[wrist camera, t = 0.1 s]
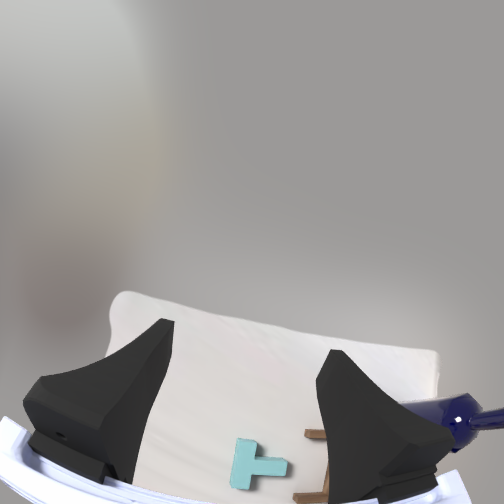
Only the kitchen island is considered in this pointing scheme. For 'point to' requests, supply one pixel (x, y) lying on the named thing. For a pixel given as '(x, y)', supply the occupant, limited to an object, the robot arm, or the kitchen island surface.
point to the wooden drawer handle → (323, 496)
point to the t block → (253, 464)
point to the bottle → (458, 416)
